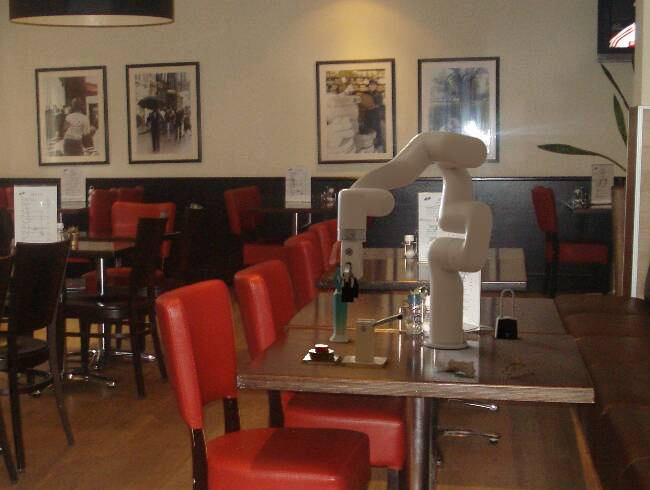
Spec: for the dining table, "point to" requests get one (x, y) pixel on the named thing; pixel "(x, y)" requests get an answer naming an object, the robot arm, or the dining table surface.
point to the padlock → (507, 322)
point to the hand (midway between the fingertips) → (350, 299)
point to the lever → (389, 319)
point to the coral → (456, 367)
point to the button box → (321, 356)
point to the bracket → (364, 345)
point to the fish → (517, 368)
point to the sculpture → (338, 298)
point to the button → (321, 348)
